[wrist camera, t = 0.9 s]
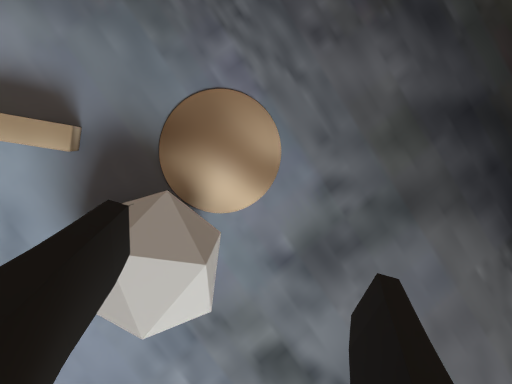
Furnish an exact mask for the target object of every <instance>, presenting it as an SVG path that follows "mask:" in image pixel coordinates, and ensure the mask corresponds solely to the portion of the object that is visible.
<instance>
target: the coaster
mask: <svg viewBox="0 0 512 384" xmlns="http://www.w3.org/2000/svg"><path fill="white" fill-rule="evenodd" d="M159 159H160V164H161V168H162V171H163V174H164V176H165V178H166V180H167V182H168V184H169V185H170V187H171V188H172V190H173V191H174V192H175V193H176V194H177V195H178V196H179V197H180V198H181V199H182V200H183V201H185V202H186V203H188V204H189V205H191V206H193V207H195V208H197V209H200V210H203V211H206V212H212V213H229V212H234V211H238V210H241V209H244V208H246V207H248V206H250V205H251V204H253V203H254V202H256V201H257V200H258V199H260V198H261V197H262V196H263V195H264V194H265V193H266V192H267V190H268V189H269V188H270V186H271V185H272V183H273V181H274V179H275V177H276V175H277V172H278V169H279V165H280V159H281V143H280V137H279V134H278V130H277V128H276V125H275V123H274V121H273V120H272V118H271V116H270V115H269V114H268V112H267V111H266V110H265V109H264V108H263V107H262V106H261V105H260V104H259V103H258V102H257V101H255V100H254V99H252V98H251V97H249V96H247V95H245V94H243V93H241V92H237V91H234V90H228V89H211V90H206V91H202V92H199V93H197V94H194V95H192V96H191V97H189V98H187V99H186V100H184V101H183V102H182V103H180V104H179V105H178V106H177V107H176V108H175V109H174V110H173V112H172V113H171V115H170V116H169V117H168V119H167V121H166V123H165V125H164V127H163V130H162V133H161V137H160V143H159Z"/></svg>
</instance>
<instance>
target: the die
mask: <svg viewBox="0 0 512 384" xmlns="http://www.w3.org/2000/svg"><path fill="white" fill-rule="evenodd" d="M122 204H125V205H129V229H130V255H129V257H128V260H127V262H126V264H125V266H124V268H123V270H122V272H121V274H120V276H119V278H118V280H117V282H116V284H115V286H114V287H113V289H112V290H111V292H110V294H109V295H108V297H107V298H106V300H105V301H104V303H103V304H102V306H101V307H100V309H99V311H98V312H97V315H99V316H101V317H103V318H104V319H106V320H108V321H110V322H112V323H113V324H115V325H117V326H119V327H121V328H122V329H124V330H126V331H128V332H130V333H131V334H133V335H135V336H137V337H139V338H140V339H145V338H147V337H150V336H152V335H154V334H157V333H159V332H162V331H164V330H167V329H169V328H172V327H174V326H177V325H179V324H182V323H184V322H187V321H189V320H192V319H194V318H197V317H199V316H201V315H204V314H206V313H209V312H211V309H212V301H213V293H214V284H215V276H216V268H217V260H218V252H219V244H220V236H221V232H220V231H218V230H217V229H216V228H215V227H213V226H212V225H211V224H209V223H208V222H207V221H206V220H204V219H203V218H202V217H201V216H199V215H198V214H197V213H196V212H194V211H193V210H192V209H190V208H189V207H188V206H187V205H185V204H184V203H183V202H182V201H180V200H179V199H178V198H176V197H175V196H174V195H173V194H171V193H170V192H169V191H168V190H167V191H163V192H160V193H156V194H153V195H149V196H146V197H142V198H139V199H135V200H132V201H129V202H125V203H122Z"/></svg>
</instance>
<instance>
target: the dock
mask: <svg viewBox="0 0 512 384" xmlns="http://www.w3.org/2000/svg"><path fill="white" fill-rule="evenodd" d="M80 136H81V127H76V126H71V125H65V124H59V123H54V122H48V121H42V120H37V119H31V118H25V117H19V116H14V115H8V114H2V113H0V141H5V142H11V143H18V144H24V145H30V146H37V147H43V148H50V149H56V150H63V151H69V152H70V151H78V150H79V144H80Z"/></svg>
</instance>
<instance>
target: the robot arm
mask: <svg viewBox="0 0 512 384" xmlns="http://www.w3.org/2000/svg"><path fill="white" fill-rule="evenodd" d="M129 255H130V229H129V205H125V204H121V203H118V202H114V201H110V200H107V201H105V202H104V203H102V204H101V205H99V206H98V207H96V208H94V209H93V210H91V211H90V212H88V213H87V214H85V215H84V216H82V217H81V218H79V219H78V220H76V221H75V222H73V223H72V224H70V225H69V226H67V227H65V228H64V229H62V230H61V231H59V232H58V233H56V234H54V235H53V236H51V237H50V238H48V239H46V240H45V241H43V242H41V243H40V244H38V245H37V246H35V247H33V248H32V249H30V250H28V251H27V252H25V253H23V254H21V255H19V256H18V257H16V258H14V259H12V260H11V261H9V262H7V263H5V264H4V265H2V266H0V384H53V383H54V381H55V379H56V377H57V376H58V374H59V372H60V370H61V368H62V367H63V365H64V363H65V362H66V360H67V358H68V357H69V355H70V353H71V352H72V350H73V349H74V347H75V346H76V344H77V343H78V341H79V340H80V338H81V336H82V335H83V333H84V332H85V330H86V329H87V327H88V326H89V324H90V323H91V321H92V320H93V318H94V317H95V315H96V314H97V312H98V311H99V309H100V307H101V306H102V304H103V303H104V301H105V300H106V298H107V297H108V295H109V294H110V292H111V290H112V289H113V287H114V286H115V284H116V282H117V280H118V278H119V276H120V274H121V272H122V270H123V268H124V266H125V264H126V262H127V260H128V257H129ZM349 365H350V384H454V383H453V381H452V380H451V378H450V376H449V374H448V373H447V371H446V369H445V367H444V366H443V364H442V362H441V360H440V358H439V356H438V355H437V353H436V351H435V349H434V347H433V345H432V344H431V342H430V340H429V338H428V336H427V334H426V332H425V330H424V328H423V326H422V324H421V322H420V320H419V318H418V316H417V314H416V312H415V310H414V308H413V306H412V304H411V302H410V300H409V298H408V296H407V294H406V292H405V290H404V288H403V286H402V284H401V283H400V281H399V279H396V278H393V277H389V276H385V275H382V274H378V273H377V275H376V276H375V278H374V279H373V281H372V283H371V284H370V286H369V287H368V289H367V291H366V292H365V294H364V295H363V297H362V299H361V300H360V302H359V303H358V305H357V307H356V308H355V310H354V312H353V313H352V315H351V326H350V340H349Z"/></svg>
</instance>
